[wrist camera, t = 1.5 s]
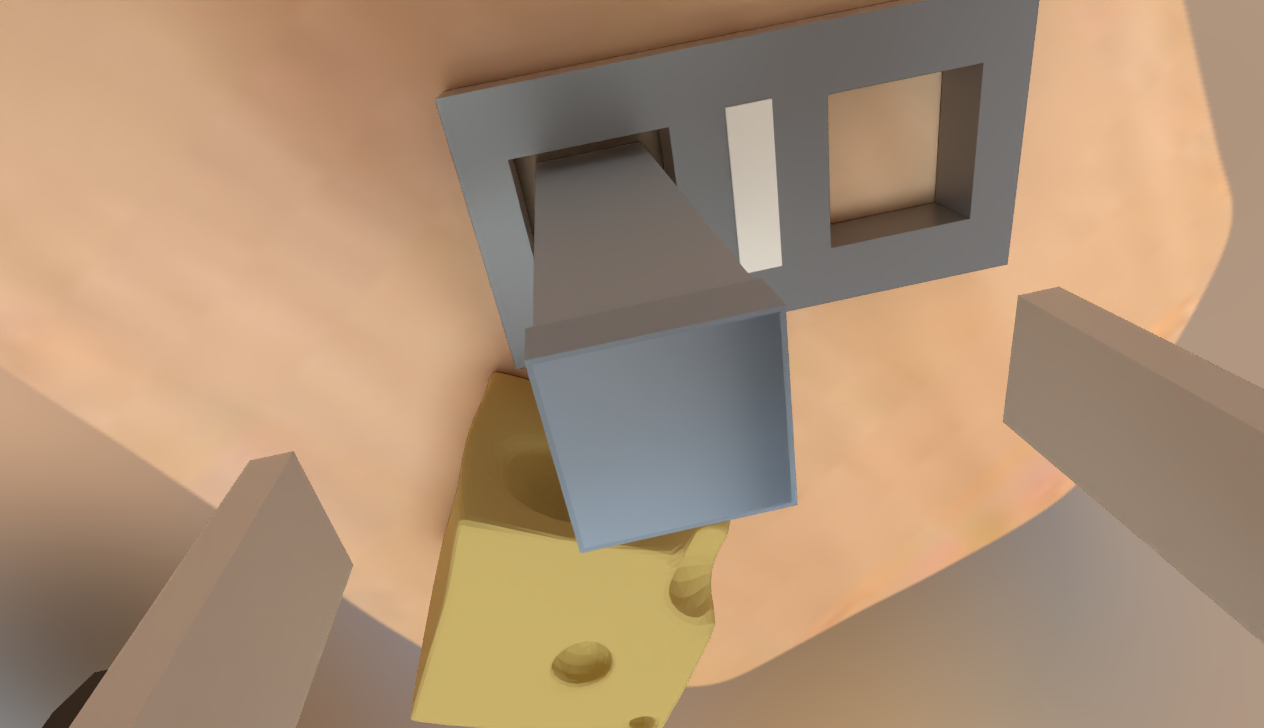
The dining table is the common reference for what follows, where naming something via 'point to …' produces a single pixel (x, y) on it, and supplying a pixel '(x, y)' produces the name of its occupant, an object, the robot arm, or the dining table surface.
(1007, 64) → the port panel
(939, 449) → the dining table surface
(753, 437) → the plug
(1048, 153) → the dining table surface
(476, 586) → the cheese
